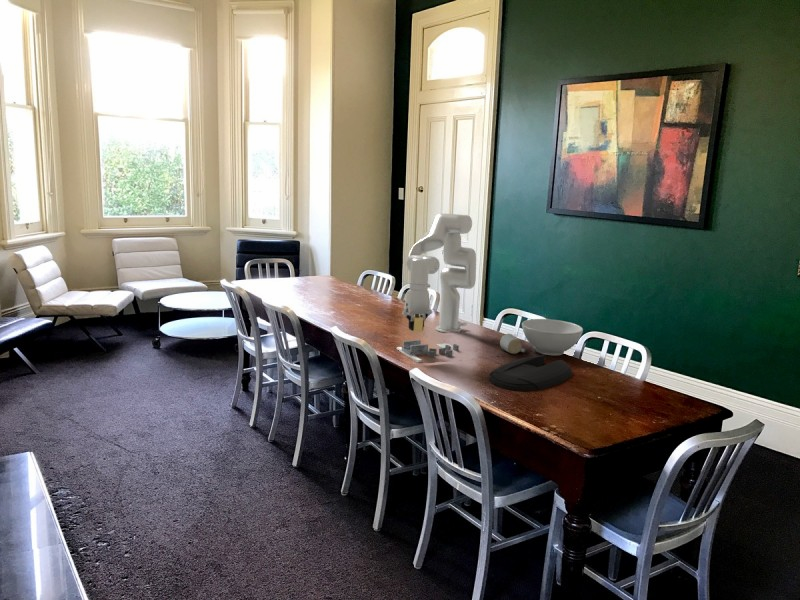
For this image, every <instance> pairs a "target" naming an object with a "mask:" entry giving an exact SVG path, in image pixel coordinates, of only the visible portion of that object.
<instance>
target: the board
mask: <svg viewBox="0 0 800 600" xmlns="http://www.w3.org/2000/svg"><path fill="white" fill-rule="evenodd" d="M435 345H437V346H438V347H440V348H434V347H433V348H432V347H429V348H428V354H427V358H436V355H437V352H438V355H439V356H441V355H445V358H448V357H452V356H453V351H454V352H459V348H460V345H458V344H457V343H453V345H451V344H449V343H437V344H435ZM402 347H403V346H397V347H396V350H397V351H398V350H399V351H398V352H401V354H403V355H404V356H406V357H408V358H409V357H410V358H409V359H411V360H413V361H414V362H416V363H417V364H418V363H425V362H426V361H424V360H423V359H421V358H419V357H418V356H417V355H408V354H407V353H405V352H404V351H402ZM437 350H438V351H437Z"/></svg>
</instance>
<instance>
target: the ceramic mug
mask: <svg viewBox="0 0 800 600" xmlns="http://www.w3.org/2000/svg"><path fill="white" fill-rule="evenodd" d="M499 340H500V341H499V346H500V347H501V349H503V350H504V351H505V352H507V353H509V354H512V355H516V354H519V353H520V352H521V353H525V352H526V349H525V348H524V347H523V344H522V342H521V340H520V339H519V338H517V337H516V336H515V335H513V334H512V333H504V334H503V335H502V336H501V338H500V339H499Z"/></svg>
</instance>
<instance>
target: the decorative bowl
mask: <svg viewBox="0 0 800 600" xmlns="http://www.w3.org/2000/svg"><path fill="white" fill-rule="evenodd" d="M521 327H522V332H523V335H524V337H525V338H526V340H527V342H528V344H530V345H531V346H532V347H533V348H534V349H535V351H536V352H537V353H538V354H541V355H544V356H546V355H547V356H561V355H563V354H565V352H566V351H568V350H570V349H571V348H573V347H574V346H575V345H576V344H577V343H578V341H579V340H580V338H581V337H582V335H583V331H584V329H583V327H582V326H581V325H578V324H575V323H573V322H570V321H569V322H568V321H564V320H558V319H549V318H532V319H526V320H524V321H522V323H521Z"/></svg>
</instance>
